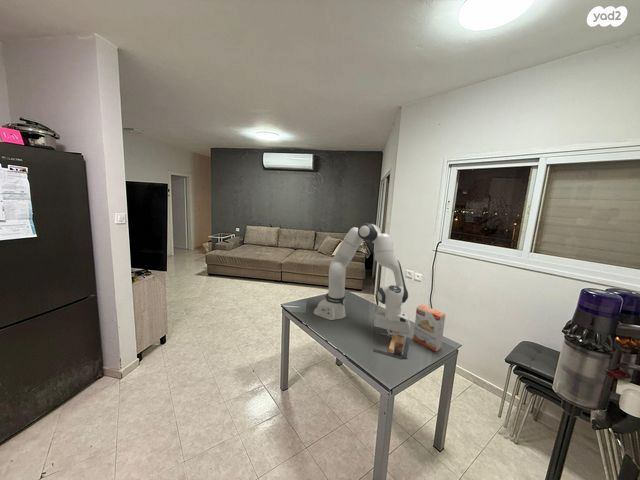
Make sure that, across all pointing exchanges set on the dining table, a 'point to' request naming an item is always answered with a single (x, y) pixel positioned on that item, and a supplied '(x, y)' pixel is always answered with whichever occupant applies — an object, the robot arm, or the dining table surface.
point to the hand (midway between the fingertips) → (390, 336)
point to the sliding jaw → (392, 344)
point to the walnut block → (399, 344)
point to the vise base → (404, 351)
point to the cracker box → (429, 327)
